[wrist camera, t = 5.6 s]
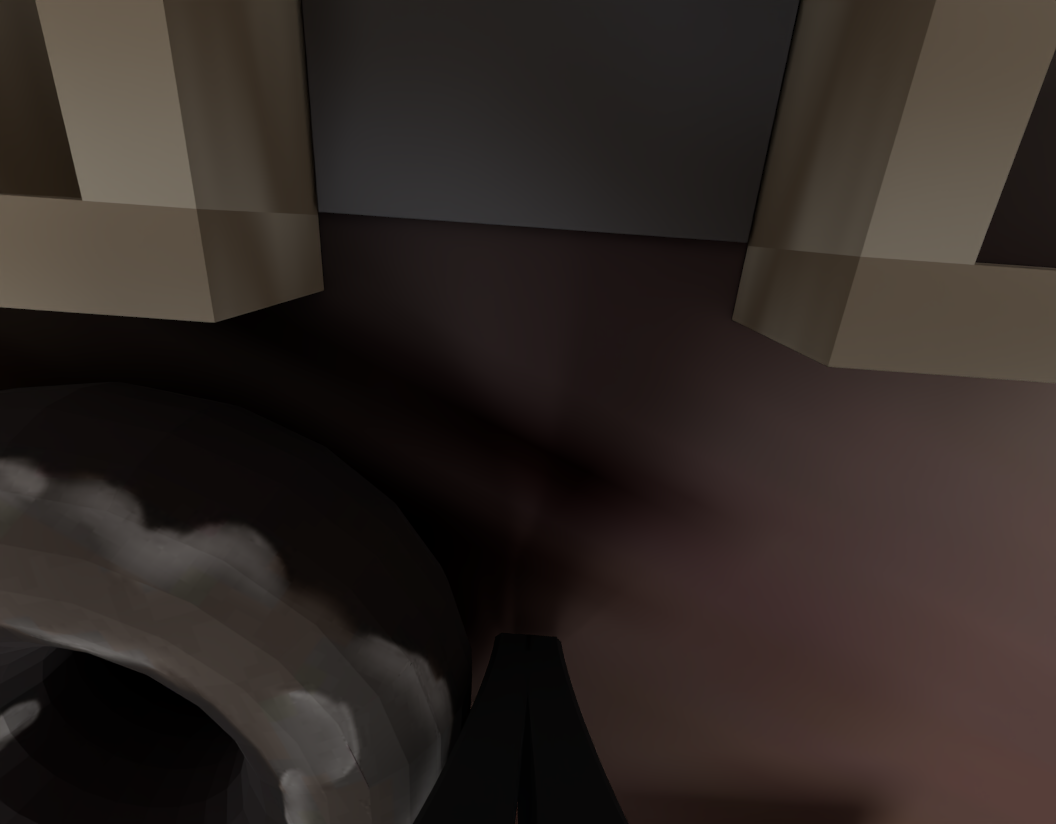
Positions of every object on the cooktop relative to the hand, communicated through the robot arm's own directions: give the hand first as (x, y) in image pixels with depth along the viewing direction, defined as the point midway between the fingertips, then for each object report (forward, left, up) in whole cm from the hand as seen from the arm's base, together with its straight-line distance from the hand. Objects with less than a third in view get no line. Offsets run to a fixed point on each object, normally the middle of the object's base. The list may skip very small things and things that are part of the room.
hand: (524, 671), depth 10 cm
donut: (0, +7, -1) cm, 7 cm away
